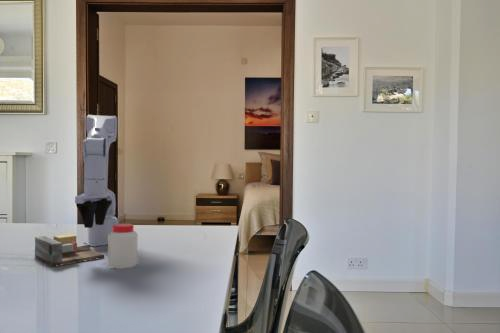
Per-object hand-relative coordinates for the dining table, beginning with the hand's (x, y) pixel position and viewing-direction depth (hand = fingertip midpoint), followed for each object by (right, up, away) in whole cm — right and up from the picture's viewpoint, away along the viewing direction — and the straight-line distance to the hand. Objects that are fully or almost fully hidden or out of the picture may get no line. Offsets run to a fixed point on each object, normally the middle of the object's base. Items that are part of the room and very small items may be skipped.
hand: (94, 226), depth 114 cm
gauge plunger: (-5, -6, -6) cm, 10 cm away
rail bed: (-7, -9, 0) cm, 12 cm away
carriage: (-9, -7, +2) cm, 12 cm away
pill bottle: (+10, -10, -6) cm, 16 cm away
